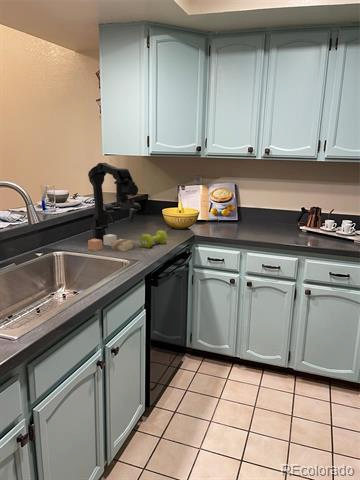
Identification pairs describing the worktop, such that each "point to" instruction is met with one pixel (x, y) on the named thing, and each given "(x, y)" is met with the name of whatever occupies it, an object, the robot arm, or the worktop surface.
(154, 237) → the dumbbell
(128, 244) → the oak base block
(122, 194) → the robot arm
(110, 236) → the offwhite cube
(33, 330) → the worktop surface
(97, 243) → the terracotta cube
